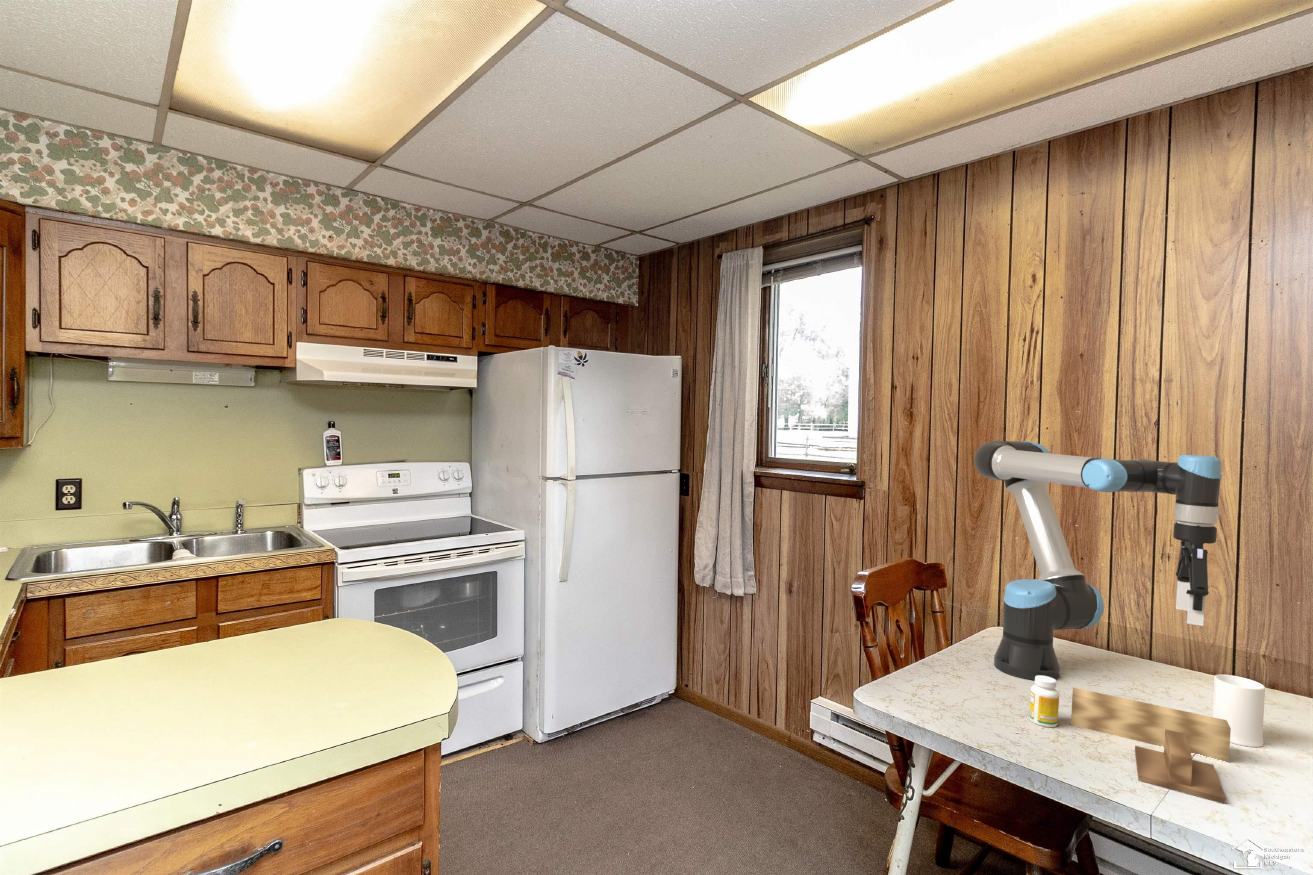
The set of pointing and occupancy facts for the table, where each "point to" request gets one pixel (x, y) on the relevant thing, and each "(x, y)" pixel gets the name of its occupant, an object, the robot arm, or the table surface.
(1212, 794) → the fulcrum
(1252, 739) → the mug
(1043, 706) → the supplement bottle
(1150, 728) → the plank
